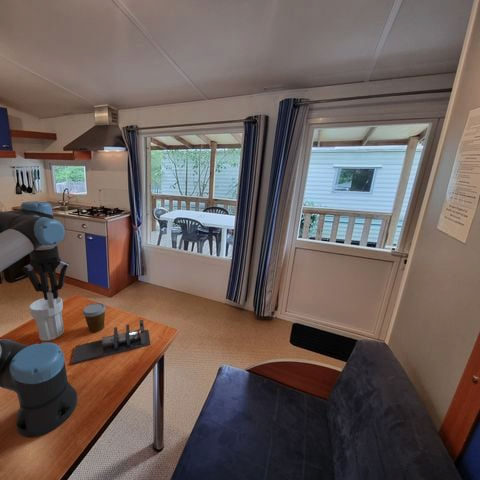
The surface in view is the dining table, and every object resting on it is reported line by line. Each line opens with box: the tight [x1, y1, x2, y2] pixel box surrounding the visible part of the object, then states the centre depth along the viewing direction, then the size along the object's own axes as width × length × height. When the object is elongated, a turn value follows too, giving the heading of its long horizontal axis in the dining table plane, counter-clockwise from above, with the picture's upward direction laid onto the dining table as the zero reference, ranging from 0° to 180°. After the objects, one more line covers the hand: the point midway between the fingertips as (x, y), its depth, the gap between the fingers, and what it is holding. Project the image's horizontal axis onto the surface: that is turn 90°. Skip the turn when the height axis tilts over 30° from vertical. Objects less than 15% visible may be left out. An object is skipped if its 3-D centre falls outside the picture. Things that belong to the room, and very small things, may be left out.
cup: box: [29, 296, 65, 343], centre depth 102 cm, size 11×11×17 cm
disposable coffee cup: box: [82, 302, 107, 333], centre depth 110 cm, size 10×10×12 cm
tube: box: [101, 328, 141, 347], centre depth 102 cm, size 16×4×4 cm, turn 117°
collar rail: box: [71, 319, 151, 365], centre depth 100 cm, size 10×30×8 cm, turn 117°
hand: (53, 306), depth 83 cm, fingers closed
